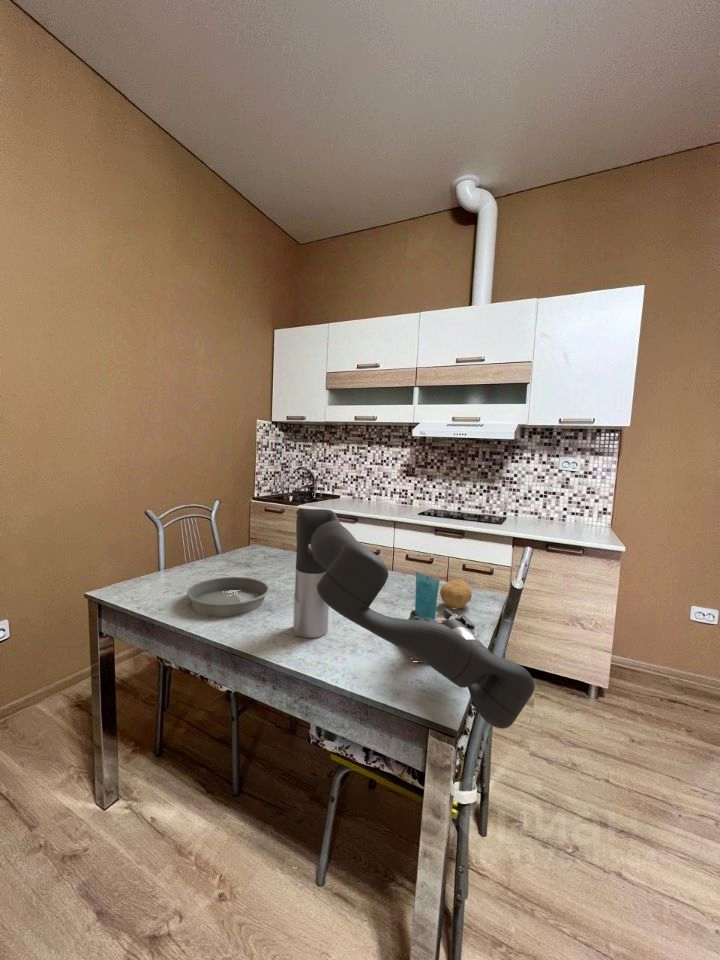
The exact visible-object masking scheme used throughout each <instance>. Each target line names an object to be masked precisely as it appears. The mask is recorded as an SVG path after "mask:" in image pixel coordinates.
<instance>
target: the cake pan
mask: <svg viewBox="0 0 720 960" xmlns="http://www.w3.org/2000/svg"><path fill="white" fill-rule="evenodd" d="M229 590H242V591H241V592H248V591H250V593H253V594H256V595H257V597H254V598H252V599H249V600H244V601H243V600H242V601H241V599H240V598H239V596H238V595H237V594H236V592H235V594H236V595H237V596H238V597H237V596H236V595H234V592H232V593H233V594H232V593H227V591H229ZM223 591H224V593H223ZM225 591H226V593H225ZM269 592H270V586H269V585H268V584H267V582H265V581H262V580H260V579H257V578H254V577H244V576H226V577H225V576H223V577H216V578H210V579H206V580H203V581H200V582H197V583H196V584H194V585H191V586H190V587H189V588H188V590H187V591H186V596H187V598H188V599H189V600H191V605H192V606H191V607H192V608H193V610H195V611H196V610H197V611H198V612H197V611H196V612H197V613H200V612H201V613H200V614H202V613H204V614H203V615H206V614H207V615H208V616H213V615H214V617H215V616H217V617H218V616H219V617H225V616H226V617H229V616H237V615H242V614H247V613H249V612H252V611H254V610H257V609H259V608H260V607H261V606H262V605H263V603H265V602H264V601H265V598H266V596H267V595H268V594H269ZM230 594H231V595H232V596H229V595H230ZM227 595H228V597H227Z"/></svg>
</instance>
